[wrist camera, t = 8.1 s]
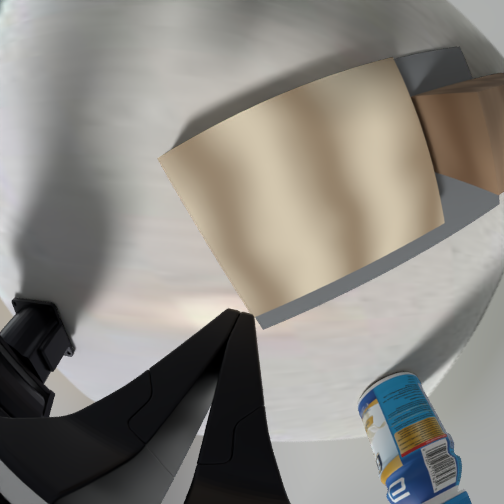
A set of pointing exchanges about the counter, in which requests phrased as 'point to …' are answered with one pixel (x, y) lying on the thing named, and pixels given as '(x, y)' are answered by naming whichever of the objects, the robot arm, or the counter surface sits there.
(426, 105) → the walnut block
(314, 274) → the birch board
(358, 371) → the counter surface
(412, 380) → the beverage bottle
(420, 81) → the rubber mat
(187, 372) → the robot arm
